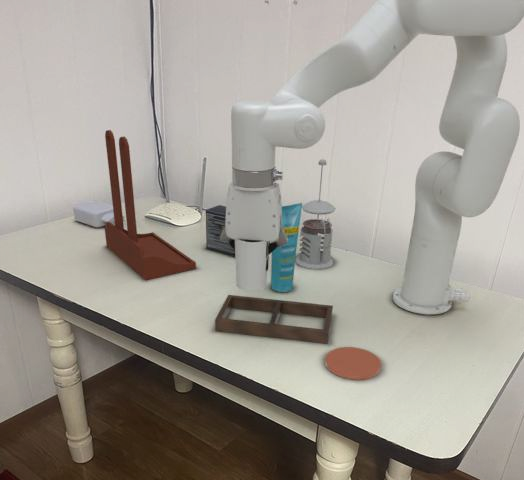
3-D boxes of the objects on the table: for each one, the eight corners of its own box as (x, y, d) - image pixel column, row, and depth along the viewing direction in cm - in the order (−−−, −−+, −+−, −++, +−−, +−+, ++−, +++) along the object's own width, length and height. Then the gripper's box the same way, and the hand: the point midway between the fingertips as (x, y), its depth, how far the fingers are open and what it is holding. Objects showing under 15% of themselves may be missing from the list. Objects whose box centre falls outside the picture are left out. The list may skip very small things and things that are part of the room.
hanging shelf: (196, 268, 136) (191, 138, 120) (145, 280, 129) (133, 144, 114) (153, 238, 153) (144, 120, 137) (106, 247, 146) (91, 124, 131)
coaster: (380, 353, 105) (381, 350, 105) (380, 383, 96) (381, 380, 96) (327, 347, 106) (327, 344, 106) (322, 376, 98) (323, 373, 97)
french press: (324, 252, 148) (333, 153, 135) (343, 269, 138) (355, 165, 125) (289, 255, 145) (295, 155, 132) (306, 273, 136) (314, 167, 123)
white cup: (240, 276, 114) (240, 228, 109) (272, 280, 112) (274, 232, 107) (229, 289, 108) (229, 239, 103) (263, 294, 107) (264, 244, 102)
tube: (274, 295, 125) (278, 210, 115) (262, 287, 128) (265, 203, 118) (301, 288, 128) (307, 205, 118) (289, 280, 132) (294, 199, 122)
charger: (109, 233, 155) (75, 221, 162) (135, 225, 161) (100, 214, 169) (107, 217, 152) (72, 205, 160) (133, 209, 159) (98, 198, 166)
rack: (331, 316, 117) (332, 305, 116) (327, 343, 107) (328, 332, 106) (228, 305, 120) (228, 294, 119) (215, 331, 110) (215, 319, 109)
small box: (252, 250, 147) (253, 211, 142) (238, 258, 142) (239, 217, 137) (220, 242, 152) (219, 203, 147) (205, 249, 147) (204, 209, 142)
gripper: (301, 174, 101) (297, 268, 111) (214, 169, 104) (217, 262, 113) (296, 185, 95) (292, 284, 105) (203, 180, 97) (208, 277, 107)
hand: (253, 272), depth 109 cm, fingers closed on white cup, 2 cm apart
